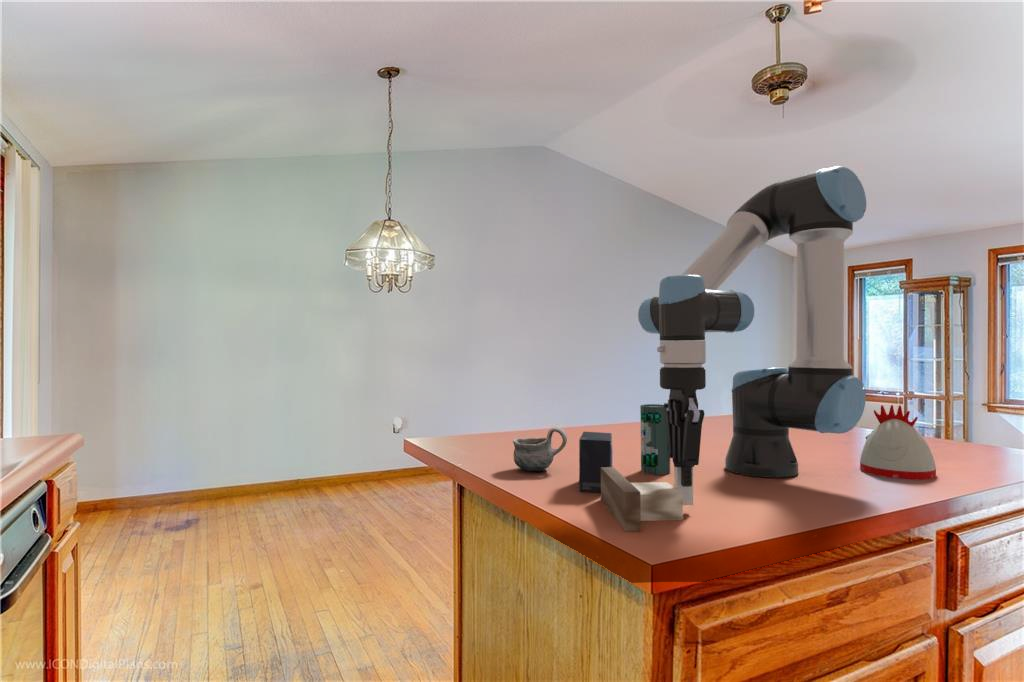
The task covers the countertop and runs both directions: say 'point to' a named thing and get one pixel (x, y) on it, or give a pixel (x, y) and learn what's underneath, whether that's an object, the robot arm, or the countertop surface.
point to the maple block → (659, 501)
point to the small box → (593, 459)
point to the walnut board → (621, 499)
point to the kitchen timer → (897, 449)
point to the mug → (537, 451)
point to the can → (654, 440)
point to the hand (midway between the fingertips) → (683, 503)
